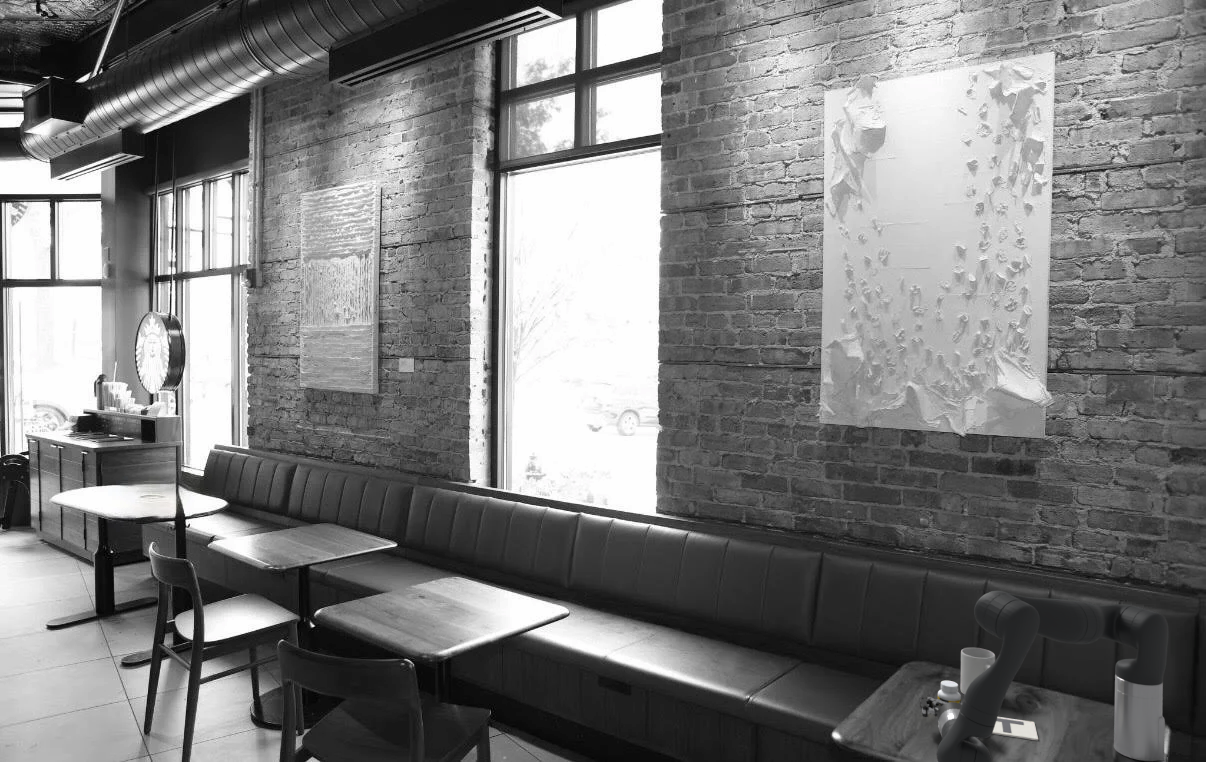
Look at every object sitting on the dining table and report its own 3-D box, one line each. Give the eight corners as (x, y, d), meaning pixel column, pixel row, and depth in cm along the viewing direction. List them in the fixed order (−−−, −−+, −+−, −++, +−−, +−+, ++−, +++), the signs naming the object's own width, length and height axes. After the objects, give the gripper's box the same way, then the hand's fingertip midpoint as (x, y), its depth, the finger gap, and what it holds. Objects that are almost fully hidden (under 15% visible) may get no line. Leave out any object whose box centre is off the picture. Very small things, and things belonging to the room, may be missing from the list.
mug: (954, 687, 231) (954, 648, 231) (983, 686, 232) (983, 646, 232) (978, 705, 220) (979, 663, 219) (1009, 703, 221) (1010, 662, 220)
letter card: (1034, 723, 209) (1034, 721, 209) (1038, 740, 199) (1038, 738, 199) (976, 715, 214) (976, 713, 214) (977, 731, 204) (977, 729, 204)
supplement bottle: (935, 724, 208) (936, 685, 208) (938, 716, 213) (938, 677, 213) (959, 728, 206) (960, 689, 206) (961, 720, 211) (962, 681, 210)
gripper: (990, 713, 192) (980, 686, 207) (923, 705, 196) (918, 679, 212) (989, 745, 192) (980, 716, 208) (922, 737, 196) (918, 709, 212)
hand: (949, 698), depth 210 cm, fingers open, 8 cm apart
